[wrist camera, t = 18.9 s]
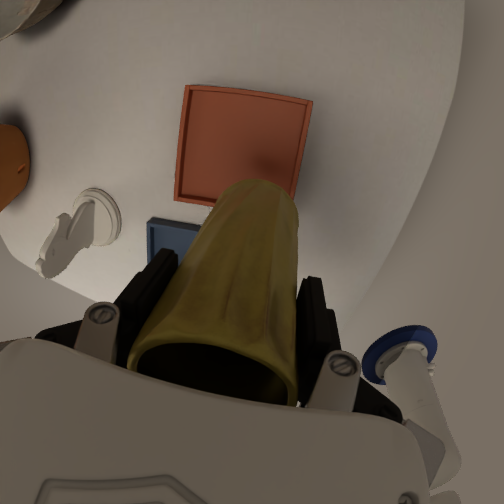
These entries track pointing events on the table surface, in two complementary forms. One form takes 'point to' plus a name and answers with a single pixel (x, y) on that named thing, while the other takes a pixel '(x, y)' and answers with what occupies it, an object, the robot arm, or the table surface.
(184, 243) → the can tray
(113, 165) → the table surface
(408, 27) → the table surface
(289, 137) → the vase tray
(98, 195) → the chess piece
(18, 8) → the ceramic bowl
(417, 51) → the table surface
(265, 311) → the vase
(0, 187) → the flower pot
